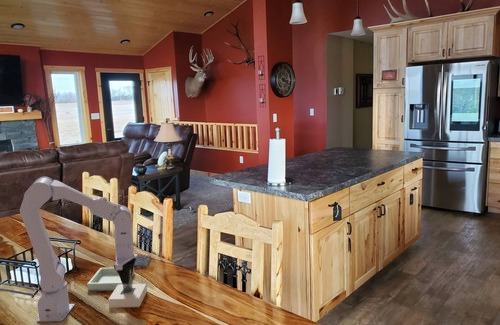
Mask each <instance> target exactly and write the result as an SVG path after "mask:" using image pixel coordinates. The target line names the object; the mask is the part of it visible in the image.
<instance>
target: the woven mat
mask: <svg viewBox="0 0 500 325" xmlns="http://www.w3.org/2000/svg"><path fill="white" fill-rule="evenodd" d="M152 259H153V257H152V255H149V254H148V255H145V254H144V255H142V254H140V255H138V256H137V259H136V261H135V264H134V270H136V269H147V267H148V265H150V264H149V263H150V262H151V261H152Z"/></svg>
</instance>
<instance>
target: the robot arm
mask: <svg viewBox="0 0 500 325" xmlns="http://www.w3.org/2000/svg"><path fill="white" fill-rule="evenodd" d="M51 198H52V201H58V200H61V199H64V200H66V201H69V202H72V203H75V204H78V205H80V206H83V207H86V208H88V209H89V212H90V213H91V214H92V215H94V216H97V217H100V218H102V219H104V220H106V221H108V222H112V223H113V225H114V231H113V235H114V246H115V263H114V266H113V267H114V269H115V270H116V271H117V272H118V274H119V276H120V279H121V282H122V284H128V283H129V279H130V270H131V277H132V275H133V268H134V264H135V261H136V259H137V256H139V255H138V253H135V247H134V237H133V228H132V226H133V225H132V224H133V223H132V221H133V217H132V212H131V209H129V207H127V206H126V205H121V204H120V203H117V204H116V203H115V202H112V201H110V200H108V198H107V197H106V196H103V197H100V196H98V197H95V198H94V197H92V196H90V195H87V194H85V193H83V192H81V191H80V190H78V189H76V188H73V187H71V186H69V185H67V184H66V183H63V182H61V181H59V180H57V179H53V178H51V177H48V176H41V177H38V178H37V179H36V180H34V182H33V183H32V184H31V185H30V186H29V187H28V189H27V190H26V191H25V192H24V195H23V199H22V202H21V205H20V208H19V213H20V217H21V219H22V221H23V224H24V228H25V230H26V232H27V236H28V237H29V241H30V243H31V245H32V248H33V251H34V254H35V257H36V259H37V262H38V272H39V276H40V280H39V286H40V288H41V295H40V297H39V299H38V300H37V312H38V318H36V322H37V323H39V322H40V323H41V322H42V323H43V322H47V323H48V322H62V321H63V320H64V319H65V318H66V317H67V316H68V314H69V313H70V312H71V311H72V310H73V308H74V307H75V303H70V299H69V292H68V290H69V289H68V283H67V281H66V280H65V275H66V269H67V268H66V266H65V265H64V264H63V263H62V262H61V260H60V258H59V257H58V256H57V255H56V252H55V250H54V247H53V245H52V242H51V239H50V236H49V234H48V230H47V228H46V225H45V222H44V219H43V217H42V214H41V211H40V209H41V208H42V206H43V205H44V204H45V203H46V202H48V201H49V200H50V199H51ZM133 276H134V275H133ZM132 278H133V277H132Z"/></svg>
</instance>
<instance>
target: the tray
mask: <svg viewBox="0 0 500 325" xmlns="http://www.w3.org/2000/svg"><path fill="white" fill-rule="evenodd" d="M134 275H135V269H134V268H133V275H132V278H133V277H134ZM119 284H122V282H121V279H120V276H119V274H118V272H117V271H116V270H115V269H114V266H113V267H99V269H98V270H97V271H96V273H95V274H94V275H93V276H92V277H91V279H90V280H89V281H88V282H87V284H86V286H87V292H104V291H105V292H106V291H114V290H115V288H116V287H117V285H119Z"/></svg>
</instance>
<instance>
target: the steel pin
mask: <svg viewBox="0 0 500 325" xmlns="http://www.w3.org/2000/svg"><path fill="white" fill-rule="evenodd" d="M132 280H133V277H131V270H130V279H129V283H128V284H123V292H124V293H129V292H131V291H132V284H133V281H132Z"/></svg>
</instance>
